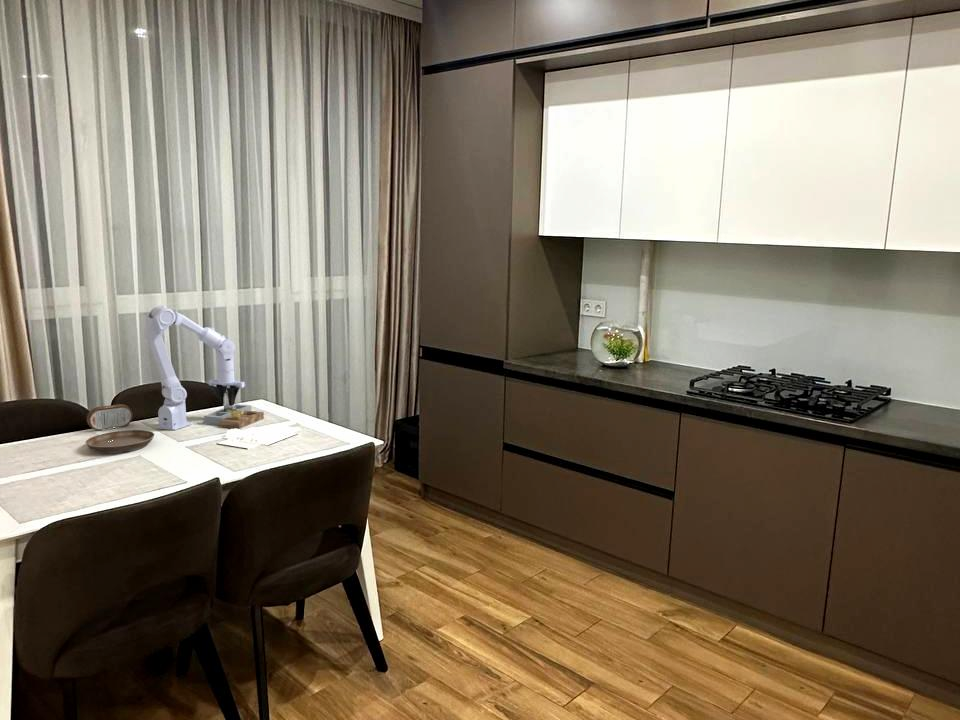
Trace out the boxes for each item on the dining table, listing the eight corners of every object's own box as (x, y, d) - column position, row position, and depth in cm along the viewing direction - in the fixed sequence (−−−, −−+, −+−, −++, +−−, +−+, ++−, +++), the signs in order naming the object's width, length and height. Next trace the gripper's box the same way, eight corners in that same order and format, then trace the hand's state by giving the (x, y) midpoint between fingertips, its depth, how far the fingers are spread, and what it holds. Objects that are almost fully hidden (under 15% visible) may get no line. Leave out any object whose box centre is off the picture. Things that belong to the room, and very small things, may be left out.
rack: (220, 425, 270) (219, 417, 270) (204, 423, 272) (203, 415, 272) (251, 412, 289) (251, 405, 289) (236, 411, 291) (235, 404, 291)
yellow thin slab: (242, 424, 269) (241, 411, 268) (228, 423, 271) (227, 410, 270) (244, 423, 270) (243, 410, 269) (230, 422, 272) (229, 409, 271)
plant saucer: (72, 450, 239) (71, 440, 238) (128, 435, 257) (127, 426, 256) (113, 460, 229) (112, 449, 229) (168, 443, 247) (167, 434, 247)
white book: (308, 431, 265) (308, 422, 264) (256, 455, 240) (255, 444, 239) (264, 425, 273) (263, 416, 272) (208, 447, 248) (208, 437, 247)
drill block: (239, 428, 266) (238, 422, 265) (220, 427, 268) (219, 420, 267) (263, 418, 281) (263, 412, 280) (245, 416, 283) (245, 410, 283)
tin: (132, 424, 271) (130, 402, 269) (134, 426, 268) (132, 403, 267) (87, 430, 261) (85, 408, 260) (89, 432, 259) (87, 409, 257)
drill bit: (229, 414, 278) (228, 393, 277) (222, 413, 279) (221, 392, 278) (234, 412, 281) (233, 391, 280) (227, 411, 282) (226, 391, 281)
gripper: (248, 369, 279) (250, 403, 281) (216, 366, 283) (218, 400, 286) (237, 372, 272) (239, 407, 275) (204, 370, 277) (206, 404, 279)
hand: (227, 404), depth 280 cm, fingers closed on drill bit, 3 cm apart
